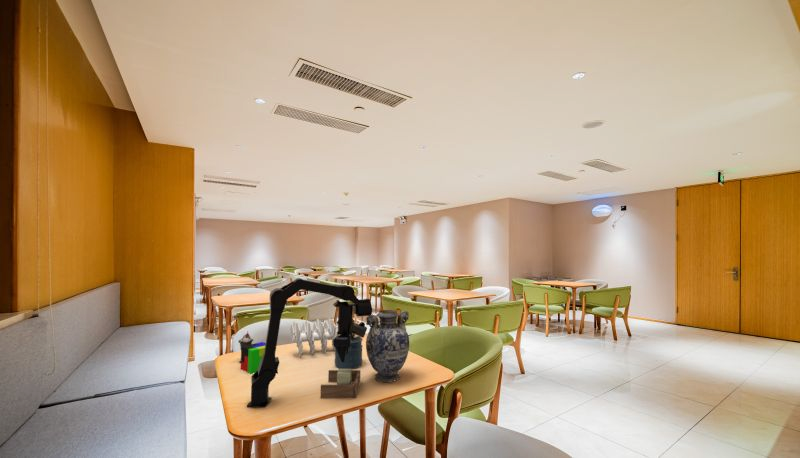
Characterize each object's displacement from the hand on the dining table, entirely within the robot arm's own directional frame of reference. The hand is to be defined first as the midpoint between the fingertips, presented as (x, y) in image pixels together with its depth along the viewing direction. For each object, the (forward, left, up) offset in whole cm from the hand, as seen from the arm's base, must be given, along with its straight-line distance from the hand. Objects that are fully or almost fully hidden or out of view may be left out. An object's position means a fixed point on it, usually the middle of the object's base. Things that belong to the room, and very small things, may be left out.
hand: (344, 357), depth 132 cm
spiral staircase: (+46, +21, -12) cm, 52 cm away
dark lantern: (+32, +52, -12) cm, 62 cm away
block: (0, 0, -12) cm, 12 cm away
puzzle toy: (+23, +43, -12) cm, 50 cm away
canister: (+28, +2, -12) cm, 31 cm away
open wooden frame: (0, +1, -12) cm, 12 cm away
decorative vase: (+12, -17, -12) cm, 24 cm away
